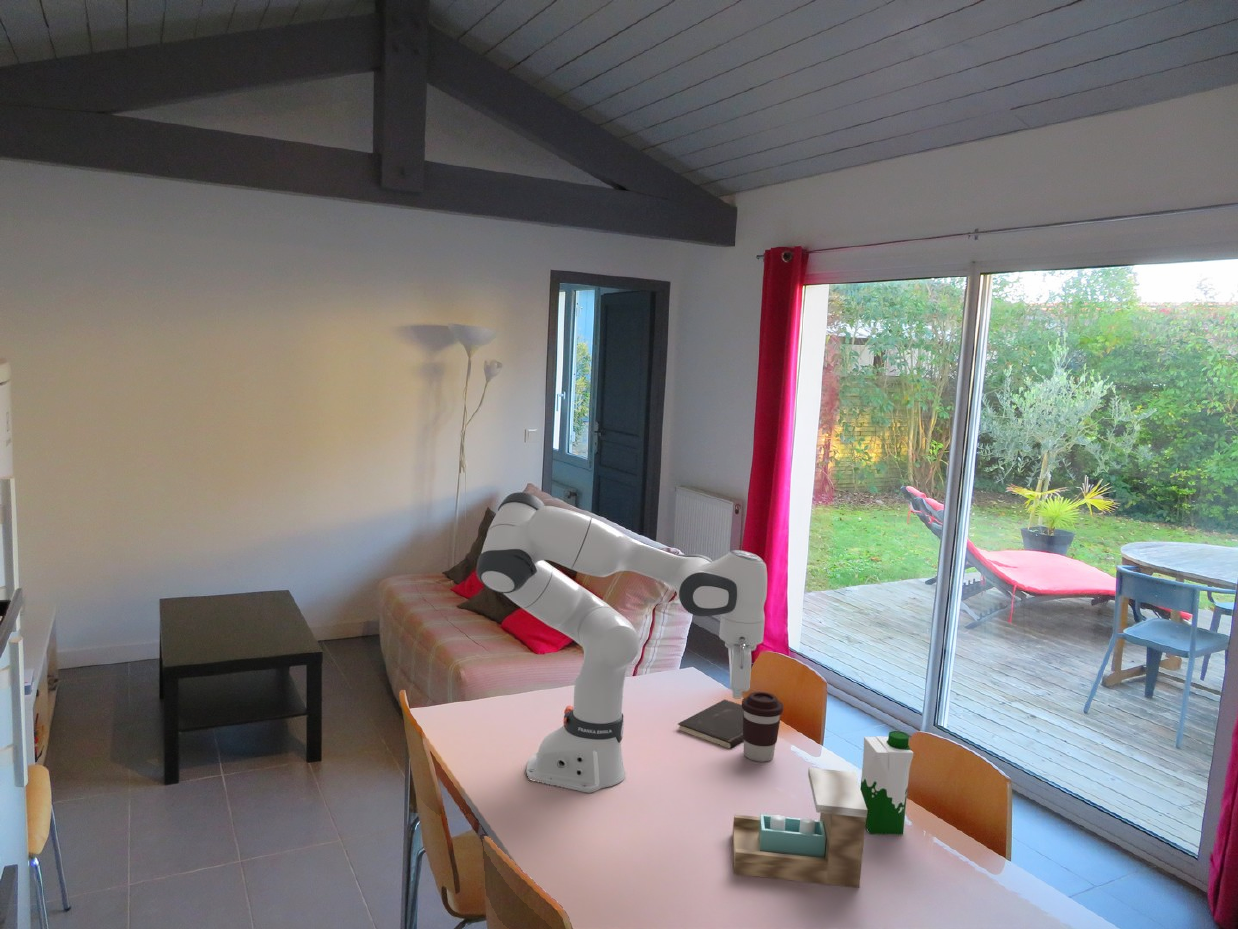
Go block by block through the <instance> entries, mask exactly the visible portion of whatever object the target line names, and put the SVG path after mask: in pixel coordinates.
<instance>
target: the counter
mask: <svg viewBox="0 0 1238 929" xmlns="http://www.w3.org/2000/svg"><path fill="white" fill-rule="evenodd" d="M807 770H808V772H807V773H808V774H807V777H808V781H809V785H810V788H811V794H812V798H813V802H814V804H813V805H814V808H815V813H818V814H820V815H819V820H820V821H822V822H823V826H824V830H825V835H826V842H825V853H824V858H816V857H807V856H798V855H789V854H780V853H771V852H761V851H760V846H759V824H760V816H754V815H753V816H752V815H743V814H733V824H732V852H733V854H732V855H733V874H735V875H742V876H749V877H750V876H752V877H758V878H760V877H761V878H768V879H769V878H770V879H778V880H786V881H796V882H804V883H805V882H806V883H814V884H823V885H831V886H832V885H833V886H839V887H840V886H841V887H850V888H858V889H859V888H860V885H861V877H862V876H861V875H862V874H861V873H862V863H863V853H864V844H865V834H866V827H865V824H866V818H867V807H866V804H865V801H864V798H863V795H862V792H861V789H860V788H861V785H860V783H859V782H858V778H857V775H856V772H855V771H847V770H845V771H844V770H837V769H835V770H834V769H828V768H827V769H826V768H815V767H808V769H807Z"/></svg>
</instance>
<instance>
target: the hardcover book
mask: <svg viewBox="0 0 1238 929" xmlns="http://www.w3.org/2000/svg"><path fill="white" fill-rule="evenodd" d="M743 714H744V710H743V709H742V704H740V703H737V702H734V701H731V700H728V699H723V700H721V701H718V702H717V703H715V704H713V705H711V706H709V707H708V708H705V709H703V710H701V711H699V712H697V713H696V714H694V715H692V716H690V717H688V718H686V719H684V720H682V721H680V722H678V723H677V725H678V726H679V728H678V731H680V732H684V733H687V734H688V735H692V736H695V737H698V738H700V739H703V740H706V741H708V742H712V743H713V744H716V743H717V745H719V744H720V745H719V746H723V747H725V748H728V749H730V750H732V749H733V748H735V747H737V746H739V745H740V744H742V743H744V739H743Z"/></svg>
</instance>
